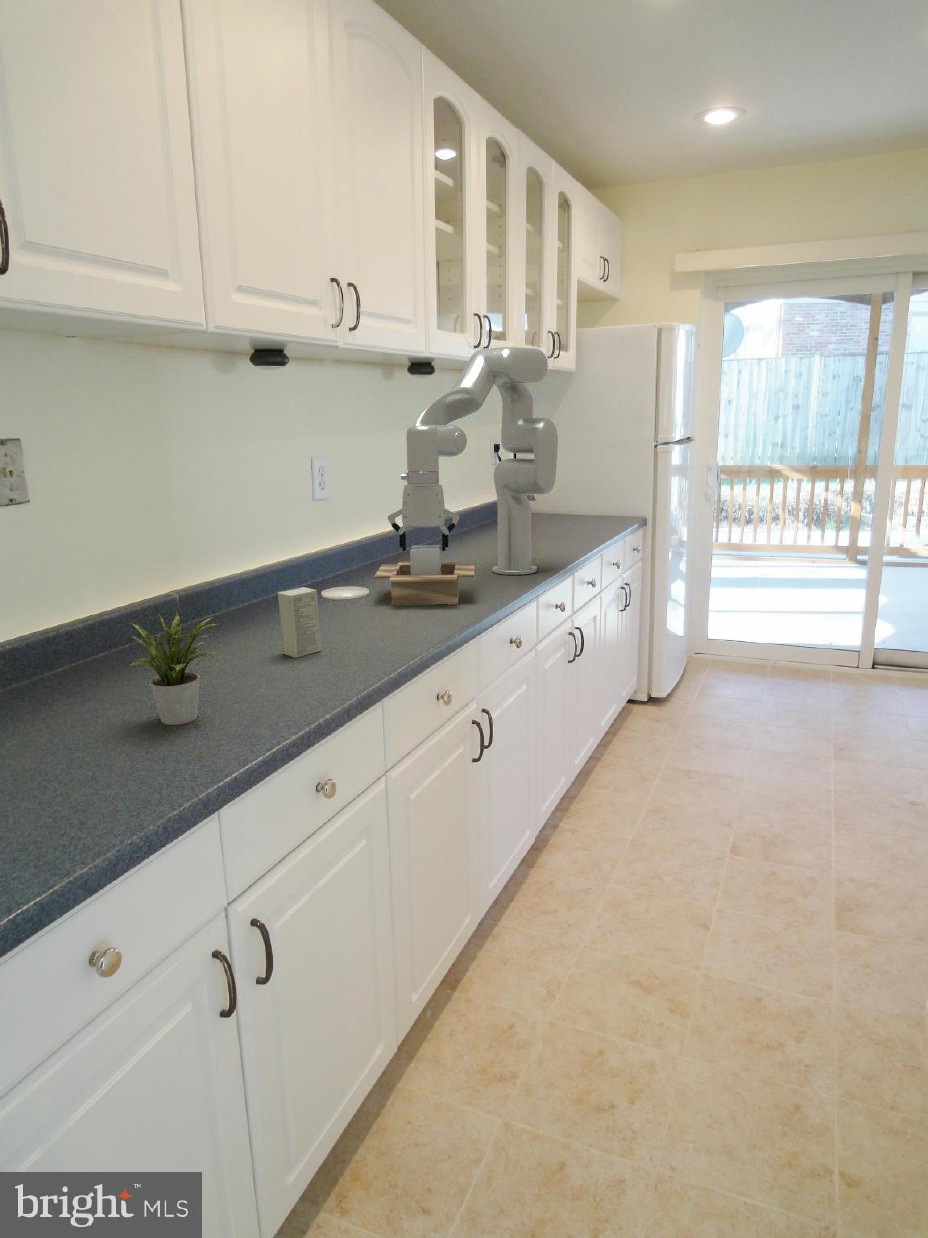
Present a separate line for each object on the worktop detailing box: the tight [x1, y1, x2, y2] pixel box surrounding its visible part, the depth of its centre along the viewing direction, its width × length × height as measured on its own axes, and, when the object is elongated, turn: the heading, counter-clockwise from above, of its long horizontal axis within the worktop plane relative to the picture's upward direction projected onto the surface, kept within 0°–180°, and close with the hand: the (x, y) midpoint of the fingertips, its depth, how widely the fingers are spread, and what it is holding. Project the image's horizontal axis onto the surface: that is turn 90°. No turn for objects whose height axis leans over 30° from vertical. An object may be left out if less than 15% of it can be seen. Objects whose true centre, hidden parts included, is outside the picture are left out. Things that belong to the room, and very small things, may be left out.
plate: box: [320, 585, 370, 601], centre depth 205 cm, size 12×12×1 cm
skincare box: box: [277, 586, 322, 659], centre depth 153 cm, size 6×4×12 cm
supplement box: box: [409, 544, 442, 575], centre depth 198 cm, size 7×7×13 cm
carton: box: [373, 560, 476, 606], centre depth 199 cm, size 24×24×7 cm
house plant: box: [129, 611, 219, 726], centre depth 119 cm, size 14×14×16 cm
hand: (424, 550), depth 197 cm, fingers open, 9 cm apart
